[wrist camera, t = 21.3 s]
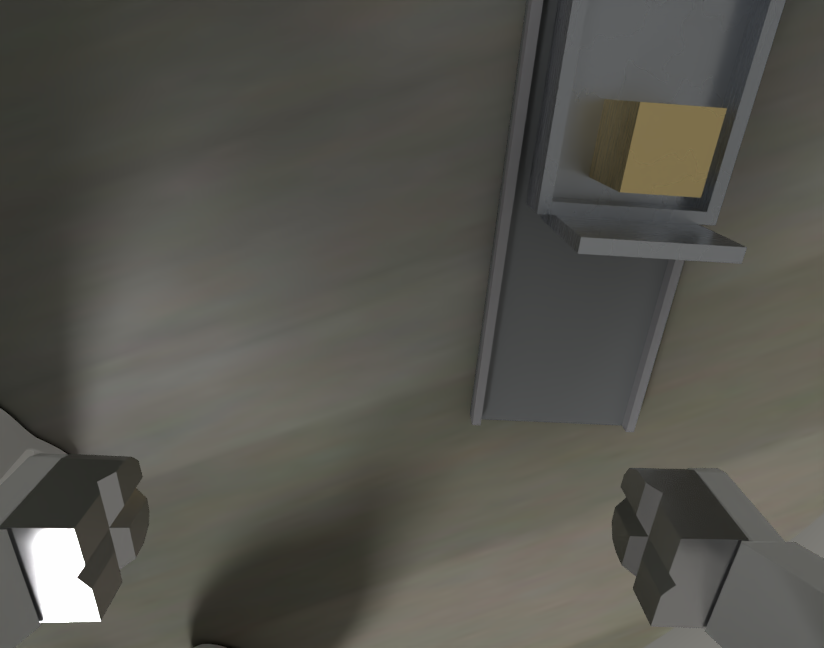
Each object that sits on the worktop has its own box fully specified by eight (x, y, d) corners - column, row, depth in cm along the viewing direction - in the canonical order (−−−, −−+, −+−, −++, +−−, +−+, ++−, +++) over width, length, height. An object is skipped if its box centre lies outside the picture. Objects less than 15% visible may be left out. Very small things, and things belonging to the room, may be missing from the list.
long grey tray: (672, 220, 33) (761, 264, 25) (517, 210, 33) (556, 252, 25) (764, -110, 26) (927, -196, 18) (569, -129, 26) (647, -226, 18)
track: (626, 421, 41) (642, 445, 38) (469, 414, 40) (475, 438, 37) (786, -138, 27) (830, -163, 24) (548, -162, 26) (566, -190, 23)
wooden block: (678, 104, 28) (727, 108, 24) (658, 181, 29) (700, 197, 25) (604, 99, 28) (640, 101, 24) (588, 177, 29) (619, 192, 25)
